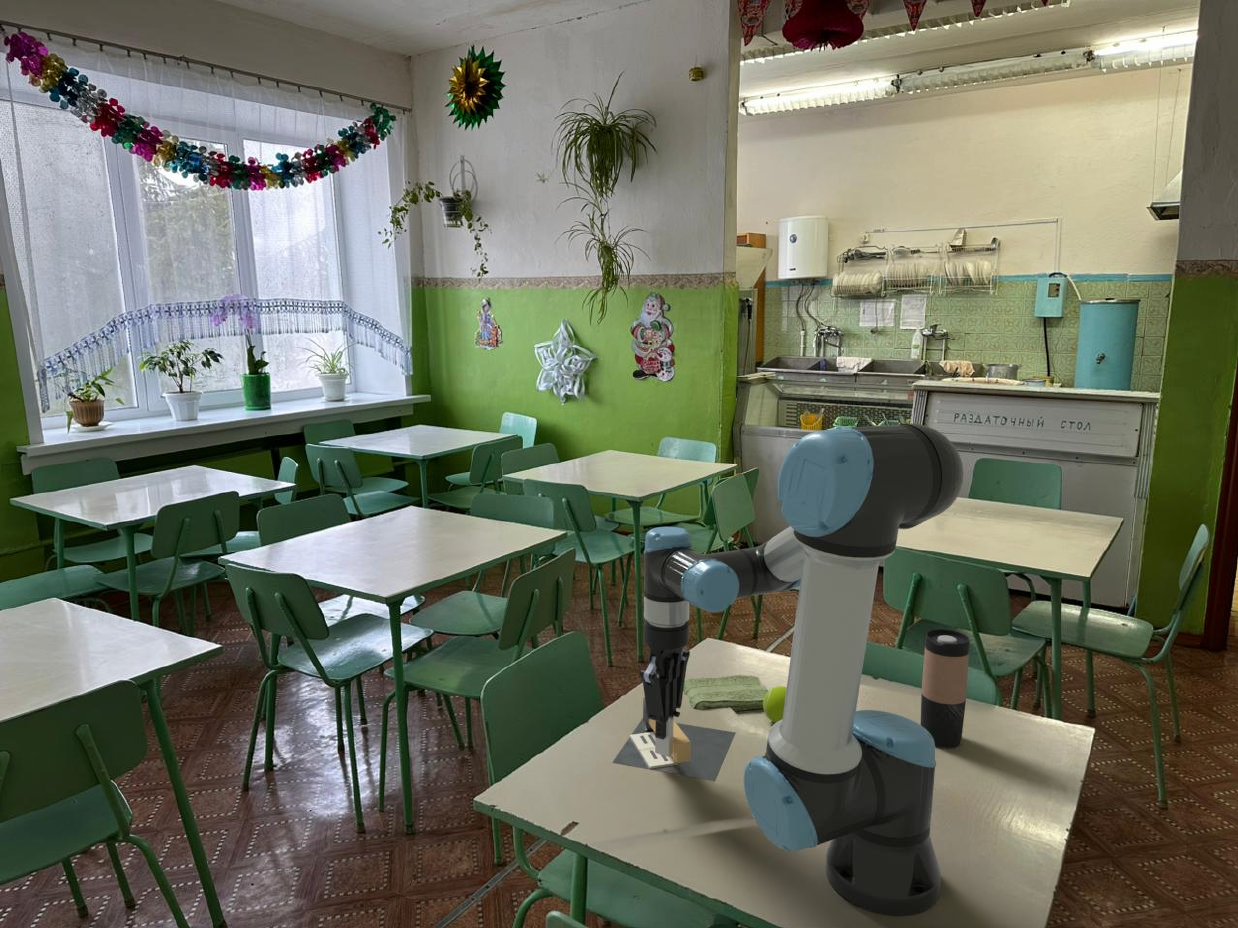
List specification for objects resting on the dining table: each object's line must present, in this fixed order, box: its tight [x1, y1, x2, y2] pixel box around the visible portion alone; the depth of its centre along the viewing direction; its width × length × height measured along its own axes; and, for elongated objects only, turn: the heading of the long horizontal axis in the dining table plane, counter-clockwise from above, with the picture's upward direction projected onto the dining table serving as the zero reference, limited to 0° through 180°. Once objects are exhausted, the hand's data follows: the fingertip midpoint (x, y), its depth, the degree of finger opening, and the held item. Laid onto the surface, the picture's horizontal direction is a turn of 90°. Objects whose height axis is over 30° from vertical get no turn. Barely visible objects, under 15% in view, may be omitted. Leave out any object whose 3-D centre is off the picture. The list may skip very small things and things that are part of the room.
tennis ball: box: [762, 685, 787, 724], centre depth 161 cm, size 7×7×7 cm
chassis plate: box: [612, 717, 736, 782], centre depth 150 cm, size 18×18×3 cm
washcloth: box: [683, 674, 769, 712], centre depth 172 cm, size 13×18×3 cm
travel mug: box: [920, 628, 971, 749], centre depth 153 cm, size 8×8×20 cm
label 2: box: [640, 748, 677, 770], centre depth 146 cm, size 6×5×1 cm
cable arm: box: [642, 696, 690, 763], centre depth 149 cm, size 18×4×4 cm, turn 17°
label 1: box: [629, 732, 655, 753], centre depth 151 cm, size 6×5×1 cm
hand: (664, 752), depth 142 cm, fingers closed
